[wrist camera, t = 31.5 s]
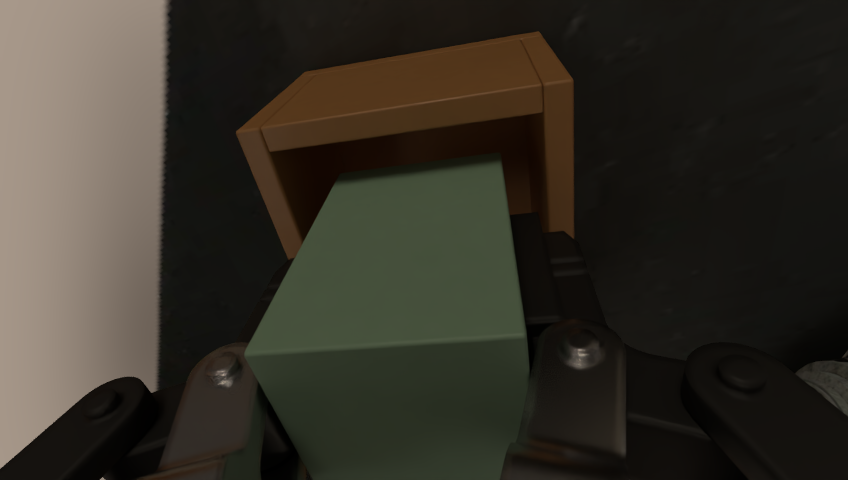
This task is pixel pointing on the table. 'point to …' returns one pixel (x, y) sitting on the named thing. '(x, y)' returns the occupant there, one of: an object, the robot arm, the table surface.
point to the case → (420, 127)
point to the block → (401, 328)
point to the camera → (829, 380)
